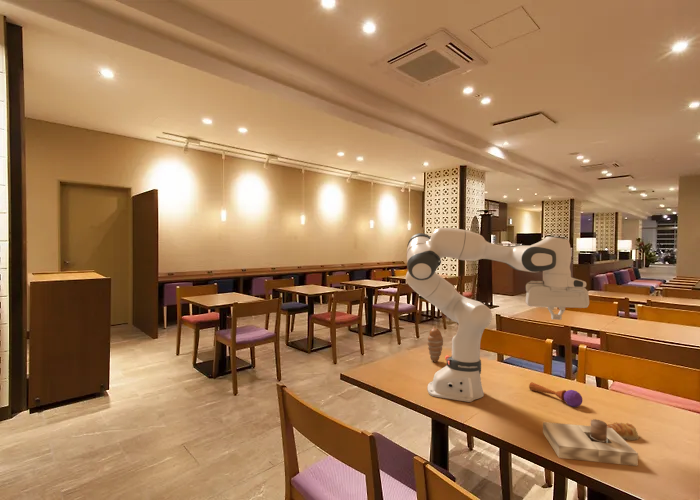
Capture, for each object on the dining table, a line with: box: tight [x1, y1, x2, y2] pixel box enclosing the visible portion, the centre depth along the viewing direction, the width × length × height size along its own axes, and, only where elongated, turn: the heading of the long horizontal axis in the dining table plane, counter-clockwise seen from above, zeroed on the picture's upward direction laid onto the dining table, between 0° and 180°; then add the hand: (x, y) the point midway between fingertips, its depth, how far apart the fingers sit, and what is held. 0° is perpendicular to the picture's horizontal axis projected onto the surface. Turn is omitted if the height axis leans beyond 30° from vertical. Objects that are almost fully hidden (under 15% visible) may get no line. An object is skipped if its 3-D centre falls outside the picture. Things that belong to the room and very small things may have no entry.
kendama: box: [528, 381, 583, 408], centre depth 143 cm, size 6×6×20 cm
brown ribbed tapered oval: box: [427, 326, 444, 363], centre depth 188 cm, size 9×8×18 cm
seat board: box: [542, 421, 639, 467], centre depth 109 cm, size 20×14×4 cm
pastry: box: [606, 421, 640, 441], centre depth 117 cm, size 9×7×4 cm
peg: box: [590, 418, 608, 443], centre depth 108 cm, size 4×4×8 cm
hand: (556, 319), depth 131 cm, fingers closed
